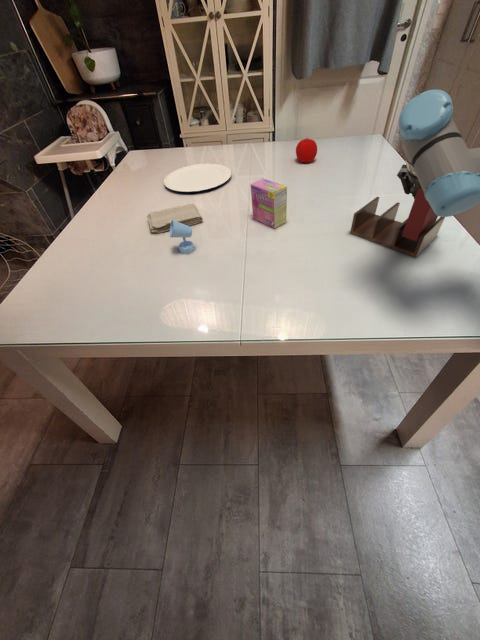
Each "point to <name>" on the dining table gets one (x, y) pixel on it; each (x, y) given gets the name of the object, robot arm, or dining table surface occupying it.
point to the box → (269, 202)
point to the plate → (197, 177)
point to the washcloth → (173, 217)
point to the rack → (390, 229)
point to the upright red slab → (419, 217)
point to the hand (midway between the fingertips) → (431, 206)
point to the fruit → (306, 150)
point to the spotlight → (182, 231)
